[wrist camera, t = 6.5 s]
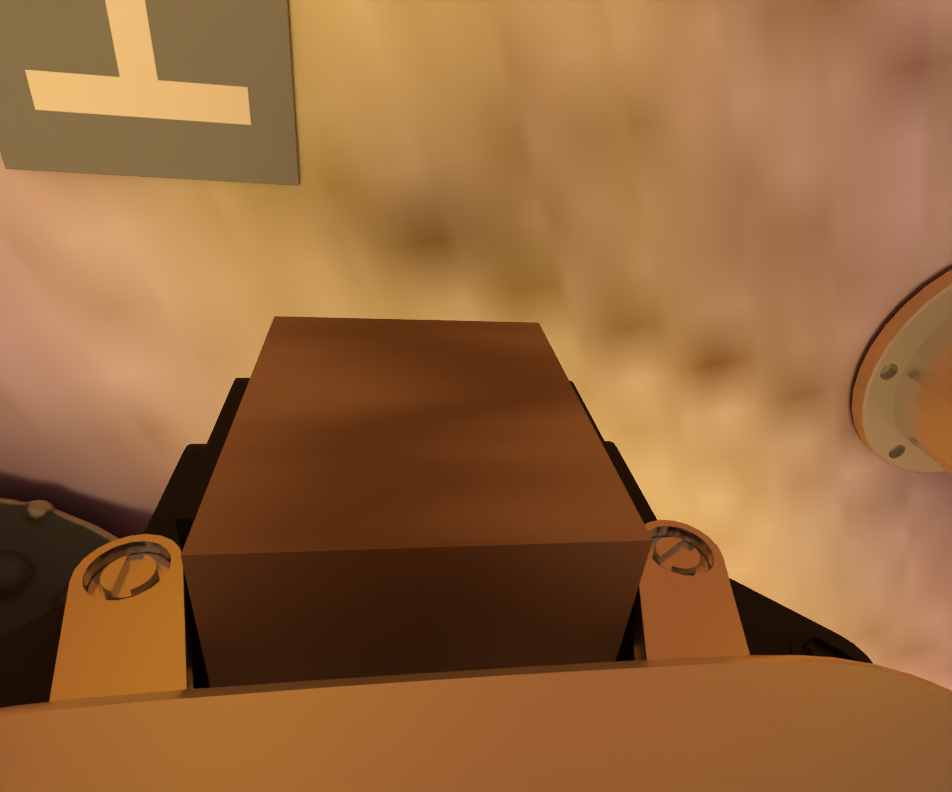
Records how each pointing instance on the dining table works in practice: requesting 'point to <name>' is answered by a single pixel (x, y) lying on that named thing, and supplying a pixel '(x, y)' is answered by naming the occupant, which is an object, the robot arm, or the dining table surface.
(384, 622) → the walnut block
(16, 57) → the letter tile
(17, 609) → the dark green studded bowl
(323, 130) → the dining table surface
